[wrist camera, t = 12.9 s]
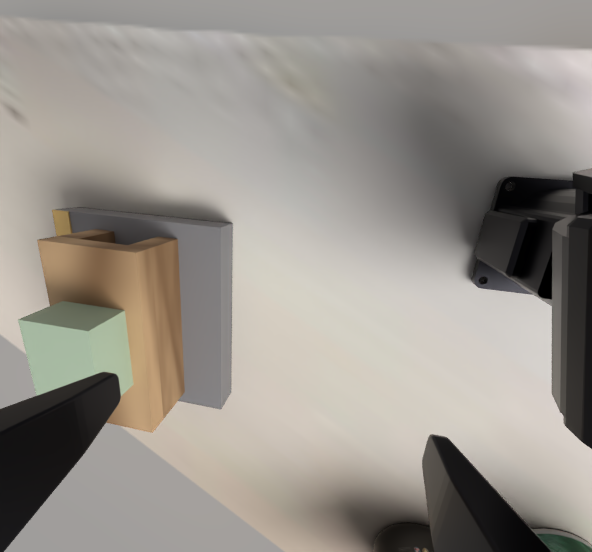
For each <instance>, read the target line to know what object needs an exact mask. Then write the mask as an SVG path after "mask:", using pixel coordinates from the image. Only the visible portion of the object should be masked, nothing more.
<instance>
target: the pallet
mask: <svg viewBox="0 0 592 552" xmlns="http://www.w3.org/2000/svg"><path fill="white" fill-rule="evenodd" d="M37 241H38V246H39V252H40V257H41V262H42V267H43V272H44V277H45V282H46V287H47V293H48V298H49V303H50V306H52V305H55V304H57V303H59V302H62V301H66V302H73V303H79V304H86V305H92V306H99V307H105V308H112V309H118V310H125V316H126V325H127V333H128V342H129V350H130V359H131V367H132V376H133V384H134V385H132V386H131V387H130V388H129V389H128V390H127V391H126V392H125V393H124V394H123V395H122V396H121V399H120V402H119V404H118V406H117V407H116V409H115V410H114V412H113V413H112V415H111V416H110V417H109V419H108V420H107V422H106V423H111V424H115V425H120V426H124V427H129V428H133V429H138V430H142V431H147V432H151V433H153V432H154V430H155V429H156V428H157V426H158V425H159V424H160V423H161V421H162V420H163V419H164V418H165V416H166V415H167V414H168V413H169V411H170V410H171V409H172V407H173V406H174V405H175V404H176V402H177V401H178V400H179V399H180V397H181V396H182V395H183V394H184V392H185V386H184V364H183V342H182V320H181V298H180V276H179V254H178V239H174V238H166V237H155V238H151V239H148V240H144V241H141V242H137V243H134V244H130V245H123V244H115V235H114V231H107V230H99V229H93V230H88V231H83V232H77V233H72V234H67V235H61V236H56V237H51V238H45V239H40V240H37Z"/></svg>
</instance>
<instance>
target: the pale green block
mask: <svg viewBox="0 0 592 552" xmlns="http://www.w3.org/2000/svg"><path fill="white" fill-rule="evenodd" d="M18 321H19V325H20V330H21V334H22V338H23V342H24V346H25V350H26V354H27V358H28V362H29V366H30V370H31V375H32V379H33V383H34V387H35V391H36V395H37V396H38V395H40V394H43V393H46V392H48V391H51V390H54V389H57V388H59V387H62V386H65V385H68V384H70V383H73V382H76V381H79V380H81V379H84V378H87V377H90V376H92V375H95V374H98V373H101V372H110V373H115V374H117V376H118V377H119V384H120V392H121V396H122V395H123V394H124V393H125V392H126V391H127V390H128V389H129V388H130V387H131V386H132V385H134V384H133V376H132V367H131V359H130V350H129V342H128V333H127V325H126V316H125V310H118V309H112V308H105V307H99V306H92V305H86V304H79V303H73V302H66V301H62V302H59V303H57V304H55V305H52V306H50V307H47V308H45V309H42V310H40V311H38V312H35V313H33V314H30V315H28V316H26V317H23V318H21V319H18Z"/></svg>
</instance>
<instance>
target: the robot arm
mask: <svg viewBox="0 0 592 552" xmlns="http://www.w3.org/2000/svg"><path fill="white" fill-rule="evenodd" d="M508 182H511V184H512V187H511V189H510V190H508V191H507V190H506V189H505V186H506V184H507V183H508ZM475 256H476V257H477V261H476V265H475V268H474V272H473V276H472V282H473V284H475V285H476V286H477V287H479V288H483V289H491V290H500V291H508V292H516V293H524V294H532V295H535V296H537V297H538V298H540V299H541V300H543V301H545V302H546V303H548V304H549V305H551V306H552V395H553V397H554V399H555V402H556V404H557V406H558V408H559V410H560V412H561V413H562V414H563V416H564V424H565V426H566V427H567V428H568V429H569V430H570V431H571V432H572V433H573V434H574V435H575V436H576V437H577V438H578V439H579V440H581V441H582V442H583V443H584V444H586V445H587V446H588V447H590V448H591V449H592V168H591V169H586V170H581V171H577V172H573V181H565V180H551V179H537V178H523V177H505V178H503V179H502V180H501V181H499V183H498V185H497V188H496V192H495V196H494V199H493V203H492V207H491V210H490V211H489V212H487V213H486V214H485V216H484V220H483V224H482V228H481V231H480V235H479V239H478V242H477V246H476V250H475ZM481 277H485V280H484V281H483V282H479V279H480V278H481ZM120 399H121V392H120V384H119V377H118V376H117V374H115V373H110V372H101V373H98V374H95V375H92V376H90V377H87V378H84V379H81V380H79V381H76V382H73V383H70V384H68V385H65V386H62V387H59V388H57V389H54V390H51V391H48V392H46V393H43V394H40V395H38V396H35V397H33V398H29V399H27V400H24V401H21V402H18V403H16V404H13V405H10V406H8V407H5V408H2V409H0V552H4V551H5V550H6V548H7V547H8V546H9V545H10V543H11V542H12V541H13V540H14V539H15V537H16V536H17V535H18V534H19V532H20V531H21V530H22V529H23V528H24V526H25V525H26V524H27V523H28V521H29V520H30V519H31V518H32V517H33V516H34V514H35V513H36V512H37V511H38V509H39V508H40V507H41V506H42V505H43V503H44V502H45V501H46V500H47V498H48V497H49V496H50V495H51V494H52V492H53V491H54V490H55V489H56V487H57V486H58V485H59V484H60V483H61V481H62V480H63V479H64V478H65V477H66V475H67V474H68V473H69V472H70V470H71V469H72V468H73V467H74V466H75V464H76V463H77V462H78V461H79V459H80V458H81V457H82V456H83V454H84V453H85V452H86V450H87V449H88V448H89V446H90V445H91V443H92V442H93V440H94V439H95V438H96V436H97V435H98V433H99V432H100V430H101V429H102V427H103V426H104V424H105V423H106V422H107V420H108V419H109V417H110V416H111V415H112V413H113V412H114V410H115V409H116V407H117V406H118V404H119V402H120ZM422 467H423V476H424V483H425V491H426V499H427V507H428V515H429V523H430V530H431V536H432V541H433V546H434V551H435V552H552V551H551V550H550V549H549V548H548V547H547V546H546V545H545V543H544V542H543V541H542V540H541V539H540V538H539V537H538V536H537V535H536V534H535V533H534V531H533V530H532V529H531V528H530V527H529V526H528V525H527V524H526V523H525V522H524V521H523V519H522V518H521V517H520V516H519V515H518V514H517V513H516V512H515V511H514V510H513V509H512V507H511V506H510V505H509V504H508V503H507V502H506V501H505V500H504V499H503V498H502V496H501V495H500V494H499V493H498V492H497V491H496V490H495V489H494V488H493V487H492V486H491V484H490V483H489V482H488V481H487V480H486V479H485V478H484V477H483V476H482V475H481V474H480V472H479V471H478V470H477V469H476V468H475V467H474V466H473V465H472V464H471V463H470V462H469V460H468V459H467V458H466V457H465V456H464V455H463V454H462V453H461V452H460V451H459V449H458V448H457V447H456V446H455V445H454V444H453V443H452V442H451V441H450V440H449V439H448V438H447V437H444V436H439V435H433V434H432V435H430V436H429V438H428V441H427V444H426V448H425V452H424V455H423V460H422Z"/></svg>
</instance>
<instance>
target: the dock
mask: <svg viewBox="0 0 592 552" xmlns="http://www.w3.org/2000/svg"><path fill="white" fill-rule="evenodd" d="M52 212H53V218H54V224H55V229H56V235H57V236H61V235H67V234H72V233H77V232H83V231H88V230H93V229H99V230H107V231H114V235H115V244H123V245H130V244H134V243H137V242H141V241H144V240H148V239H151V238H155V237H166V238H174V239H178V254H179V276H180V298H181V320H182V342H183V364H184V386H185V392H184V394H183V395H182V396H181V397H180V399H179V400H178V401H182V402H187V403H192V404H197V405H202V406H207V407H212V408H217V409H222V407H223V405H224V404H225V402H226V400H227V398H228V397H229V395H230V393H231V343H232V232H233V224H232V223H223V222H213V221H204V220H194V219H185V218H175V217H166V216H156V215H147V214H137V213H128V212H118V211H109V210H100V209H90V208H81V207H76V208H66V209H56V210H52Z"/></svg>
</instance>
